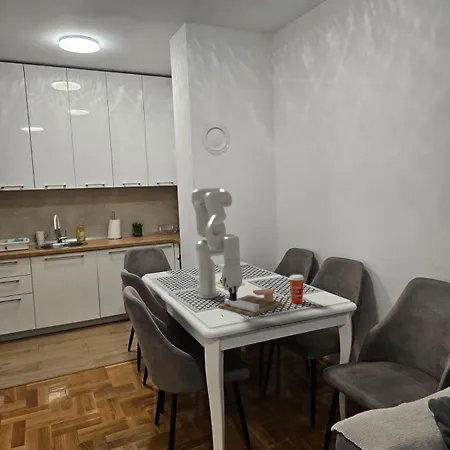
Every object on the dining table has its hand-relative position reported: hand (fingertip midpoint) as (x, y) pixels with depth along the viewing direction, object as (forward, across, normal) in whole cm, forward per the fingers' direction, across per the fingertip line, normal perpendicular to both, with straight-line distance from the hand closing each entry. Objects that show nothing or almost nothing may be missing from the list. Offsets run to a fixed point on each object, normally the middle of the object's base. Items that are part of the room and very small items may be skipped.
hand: (233, 300), depth 190 cm
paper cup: (+7, -36, +12) cm, 39 cm away
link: (+6, -8, -2) cm, 10 cm away
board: (+7, -16, -3) cm, 18 cm away
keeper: (+7, -24, 0) cm, 25 cm away
